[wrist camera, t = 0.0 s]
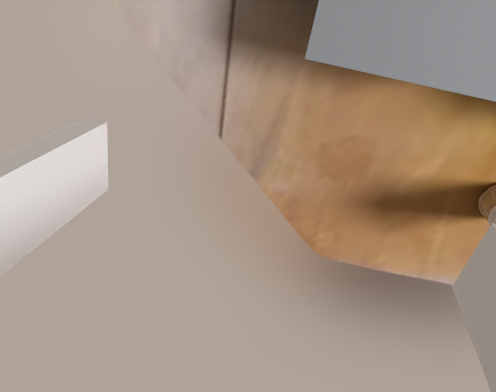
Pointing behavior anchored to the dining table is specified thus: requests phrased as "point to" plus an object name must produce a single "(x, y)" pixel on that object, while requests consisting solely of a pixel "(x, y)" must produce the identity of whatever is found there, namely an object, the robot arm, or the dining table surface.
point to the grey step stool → (411, 41)
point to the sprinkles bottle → (488, 204)
